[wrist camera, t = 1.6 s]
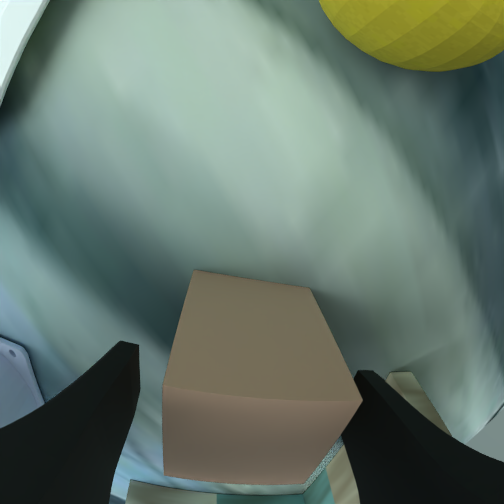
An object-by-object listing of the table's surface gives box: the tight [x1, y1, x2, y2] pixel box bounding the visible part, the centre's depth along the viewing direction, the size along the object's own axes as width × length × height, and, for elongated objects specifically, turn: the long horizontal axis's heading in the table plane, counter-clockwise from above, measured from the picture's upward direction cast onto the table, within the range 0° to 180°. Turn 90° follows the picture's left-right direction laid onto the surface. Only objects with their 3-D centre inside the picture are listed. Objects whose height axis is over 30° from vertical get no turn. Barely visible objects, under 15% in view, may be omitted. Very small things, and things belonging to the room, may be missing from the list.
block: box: [162, 270, 363, 485], centre depth 9 cm, size 4×4×6 cm
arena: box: [125, 372, 452, 504], centre depth 13 cm, size 16×17×5 cm
